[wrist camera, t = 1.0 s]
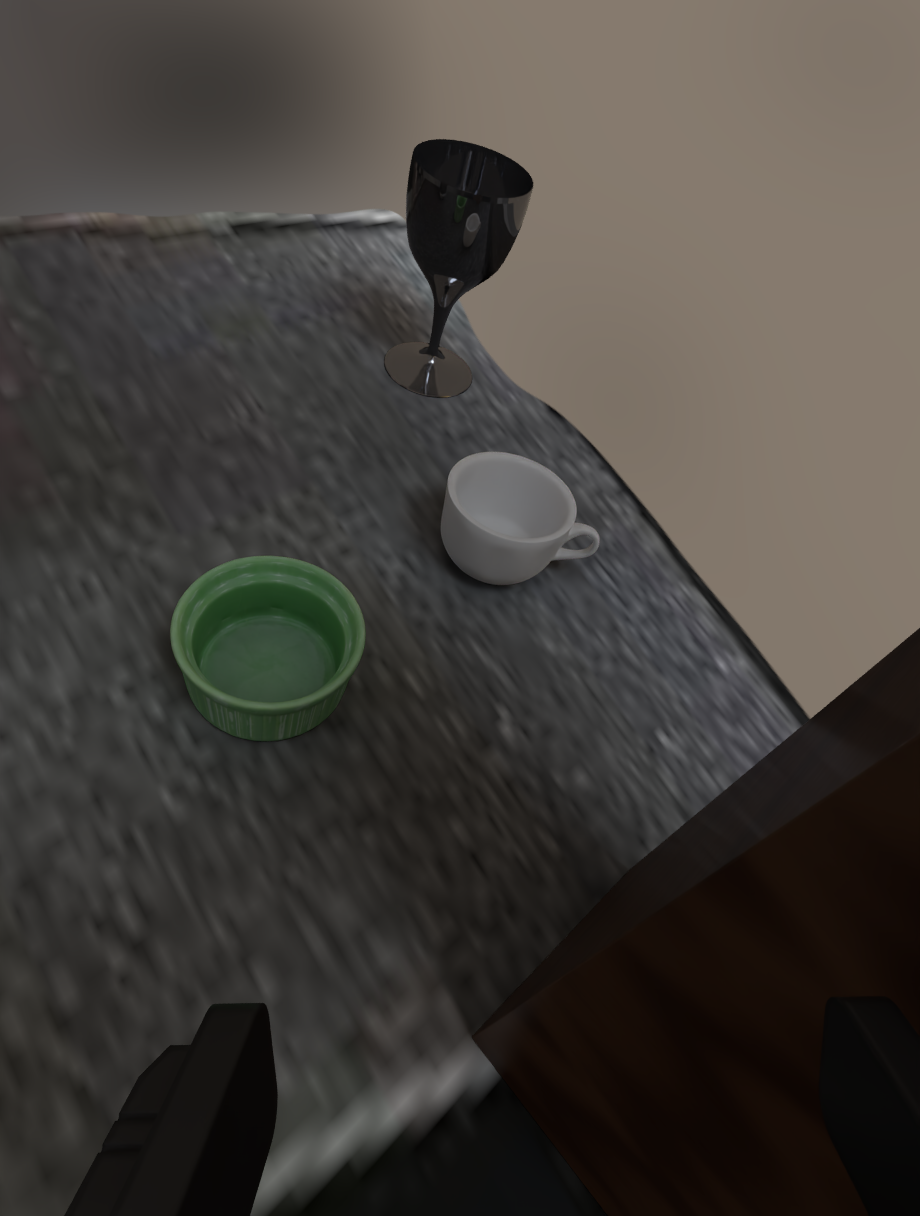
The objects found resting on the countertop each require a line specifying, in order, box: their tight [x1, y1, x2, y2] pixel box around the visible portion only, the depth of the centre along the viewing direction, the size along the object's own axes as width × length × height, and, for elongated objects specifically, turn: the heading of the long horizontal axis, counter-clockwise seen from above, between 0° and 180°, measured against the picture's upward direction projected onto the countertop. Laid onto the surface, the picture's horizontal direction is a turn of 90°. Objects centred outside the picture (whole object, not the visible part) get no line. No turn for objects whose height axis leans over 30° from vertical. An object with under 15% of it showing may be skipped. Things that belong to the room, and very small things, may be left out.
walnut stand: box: [472, 628, 920, 1216], centre depth 19 cm, size 11×13×32 cm
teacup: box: [441, 452, 599, 585], centre depth 45 cm, size 10×8×5 cm
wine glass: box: [384, 139, 533, 397], centre depth 52 cm, size 8×8×15 cm
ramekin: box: [170, 556, 366, 741], centre depth 36 cm, size 9×9×4 cm
